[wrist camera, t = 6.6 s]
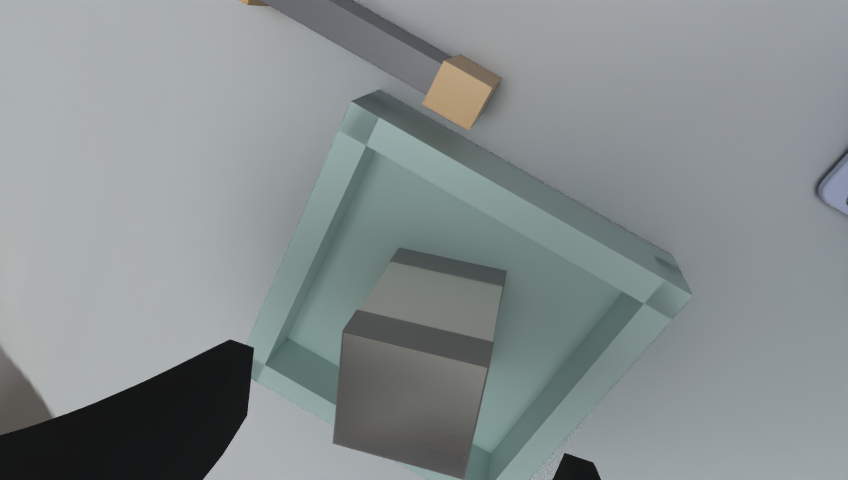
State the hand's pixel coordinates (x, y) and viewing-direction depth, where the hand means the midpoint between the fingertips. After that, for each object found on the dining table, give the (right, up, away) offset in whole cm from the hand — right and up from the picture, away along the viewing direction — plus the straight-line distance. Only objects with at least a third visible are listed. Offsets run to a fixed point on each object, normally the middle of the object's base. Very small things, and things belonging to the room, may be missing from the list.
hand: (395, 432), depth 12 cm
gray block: (+1, +2, +9) cm, 9 cm away
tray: (+2, +2, +10) cm, 10 cm away
